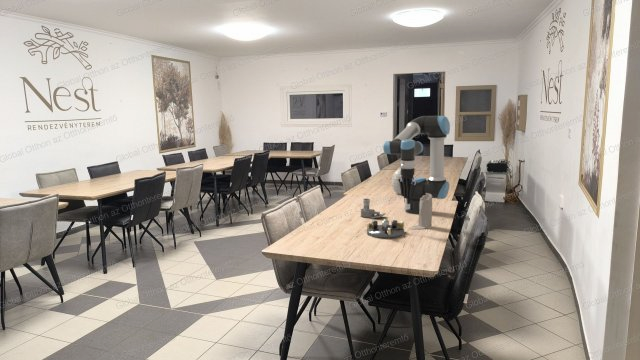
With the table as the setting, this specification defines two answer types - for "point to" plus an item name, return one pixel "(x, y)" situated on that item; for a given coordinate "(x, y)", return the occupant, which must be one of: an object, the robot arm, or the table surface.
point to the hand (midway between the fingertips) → (407, 209)
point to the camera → (369, 211)
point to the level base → (381, 231)
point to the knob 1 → (372, 225)
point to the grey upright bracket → (425, 212)
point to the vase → (396, 181)
